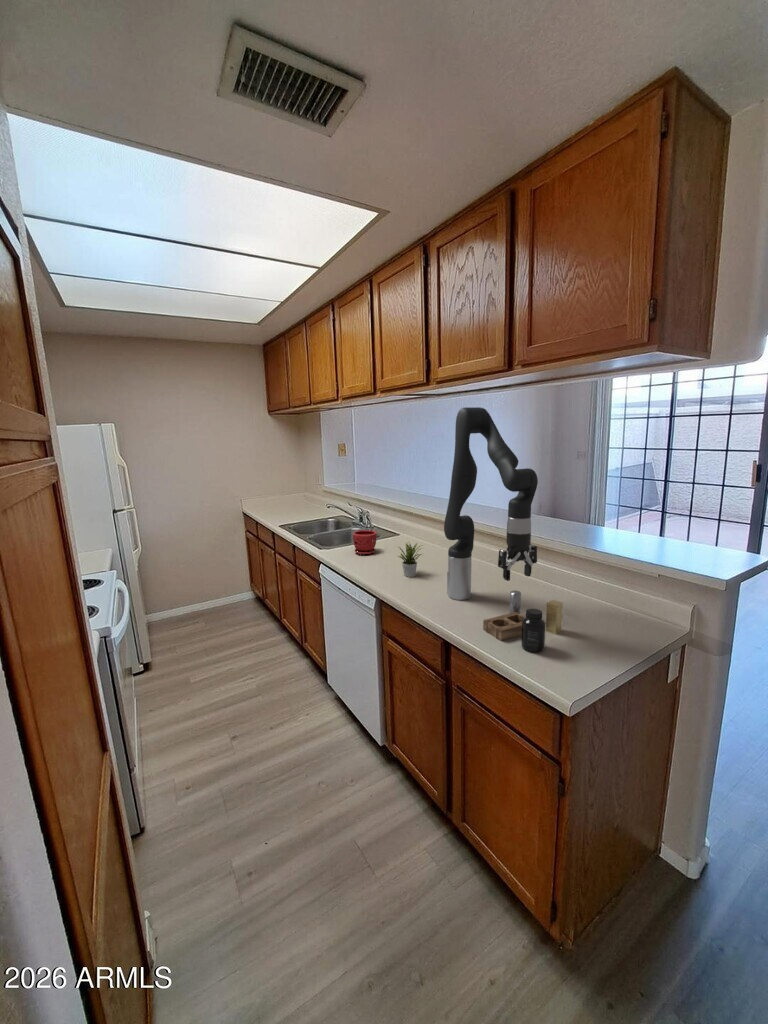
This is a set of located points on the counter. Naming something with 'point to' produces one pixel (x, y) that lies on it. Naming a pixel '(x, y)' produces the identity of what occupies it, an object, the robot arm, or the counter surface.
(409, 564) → the house plant
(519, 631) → the bore block
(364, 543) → the plant pot
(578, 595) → the counter surface
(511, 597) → the cylinder
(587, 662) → the counter surface
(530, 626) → the supplement bottle
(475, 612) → the counter surface
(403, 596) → the counter surface
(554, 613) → the square bit
